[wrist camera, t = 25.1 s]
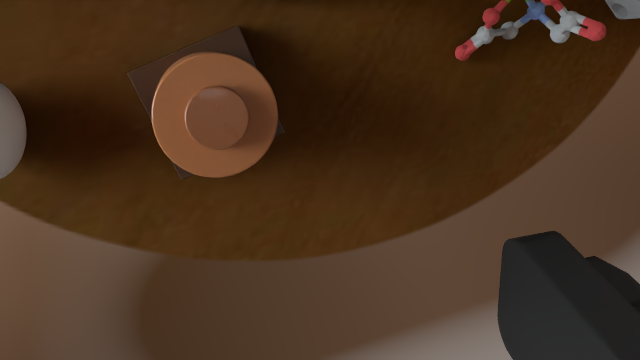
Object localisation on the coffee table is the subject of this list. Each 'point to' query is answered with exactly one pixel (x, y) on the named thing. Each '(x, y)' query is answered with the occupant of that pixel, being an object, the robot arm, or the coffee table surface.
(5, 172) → the egg
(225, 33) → the walnut coaster
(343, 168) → the coffee table surface
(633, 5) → the mechanical component
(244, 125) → the shaker lid
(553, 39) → the molecular model
